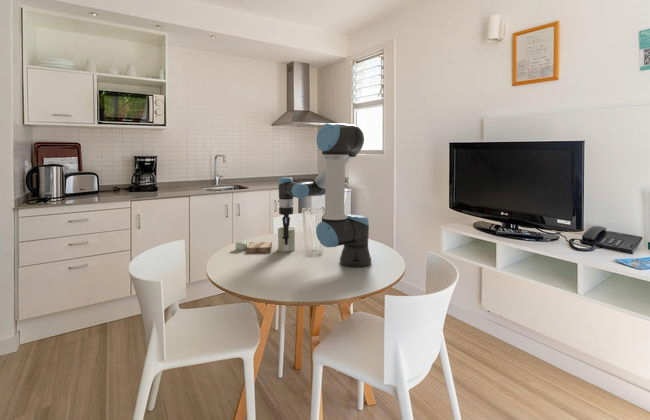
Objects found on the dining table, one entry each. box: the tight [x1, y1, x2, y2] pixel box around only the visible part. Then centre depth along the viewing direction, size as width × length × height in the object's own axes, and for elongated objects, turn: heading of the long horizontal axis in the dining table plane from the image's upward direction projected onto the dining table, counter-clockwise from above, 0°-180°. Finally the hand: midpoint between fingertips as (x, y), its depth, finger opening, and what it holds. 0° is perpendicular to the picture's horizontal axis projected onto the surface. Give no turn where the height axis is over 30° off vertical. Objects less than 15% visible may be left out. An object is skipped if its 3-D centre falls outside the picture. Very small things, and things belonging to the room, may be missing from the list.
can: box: [277, 226, 296, 253], centre depth 196 cm, size 9×9×12 cm
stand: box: [246, 241, 273, 254], centre depth 196 cm, size 12×12×3 cm
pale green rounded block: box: [235, 240, 248, 252], centre depth 196 cm, size 6×6×4 cm
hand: (286, 247), depth 197 cm, fingers closed on can, 9 cm apart
